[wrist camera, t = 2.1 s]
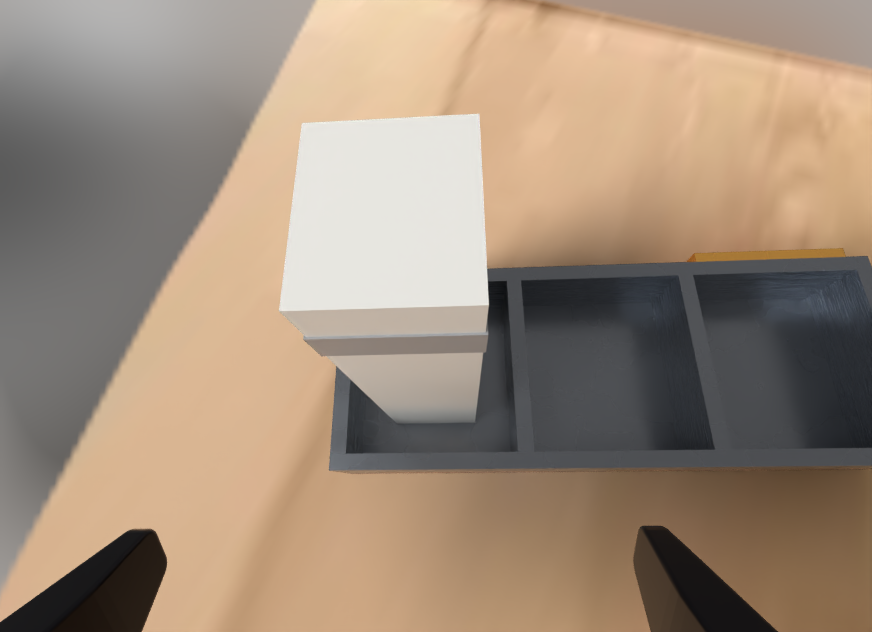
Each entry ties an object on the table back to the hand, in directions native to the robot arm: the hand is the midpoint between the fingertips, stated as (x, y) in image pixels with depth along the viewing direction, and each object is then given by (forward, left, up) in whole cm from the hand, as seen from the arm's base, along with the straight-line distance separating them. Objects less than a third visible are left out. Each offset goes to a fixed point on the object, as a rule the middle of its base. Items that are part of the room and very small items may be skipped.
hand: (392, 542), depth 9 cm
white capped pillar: (+4, -4, -12) cm, 13 cm away
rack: (-1, -9, -12) cm, 15 cm away
